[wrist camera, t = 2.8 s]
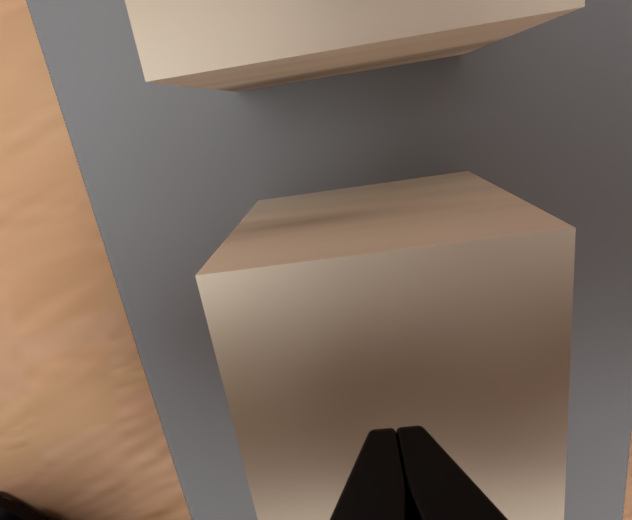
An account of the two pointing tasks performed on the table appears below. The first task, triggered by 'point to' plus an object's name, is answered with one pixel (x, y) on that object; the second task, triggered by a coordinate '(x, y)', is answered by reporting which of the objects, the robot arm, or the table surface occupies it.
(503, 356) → the plain block
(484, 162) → the grey mat
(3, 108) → the table surface
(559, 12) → the two-pip block
